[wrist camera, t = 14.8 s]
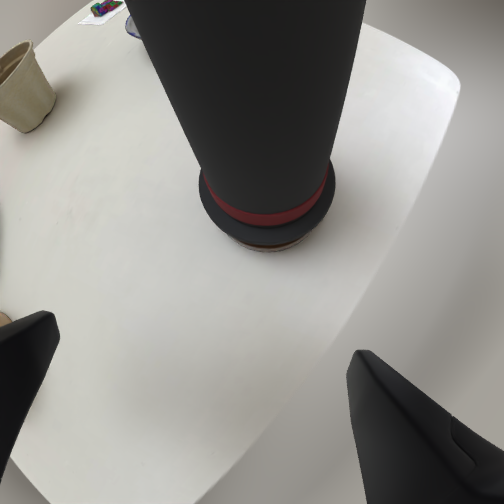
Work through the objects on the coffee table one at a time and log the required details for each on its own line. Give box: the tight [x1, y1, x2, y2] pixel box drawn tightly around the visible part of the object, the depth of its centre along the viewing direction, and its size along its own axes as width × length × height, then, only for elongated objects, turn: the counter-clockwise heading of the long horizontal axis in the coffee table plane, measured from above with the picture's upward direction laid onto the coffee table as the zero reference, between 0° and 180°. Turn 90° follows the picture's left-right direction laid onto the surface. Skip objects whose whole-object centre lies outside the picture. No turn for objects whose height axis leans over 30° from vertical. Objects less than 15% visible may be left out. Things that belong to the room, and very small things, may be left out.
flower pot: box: [0, 40, 56, 133], centre depth 22 cm, size 9×9×9 cm
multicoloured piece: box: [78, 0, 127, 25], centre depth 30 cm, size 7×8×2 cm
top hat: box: [124, 0, 366, 245], centre depth 10 cm, size 8×8×15 cm
